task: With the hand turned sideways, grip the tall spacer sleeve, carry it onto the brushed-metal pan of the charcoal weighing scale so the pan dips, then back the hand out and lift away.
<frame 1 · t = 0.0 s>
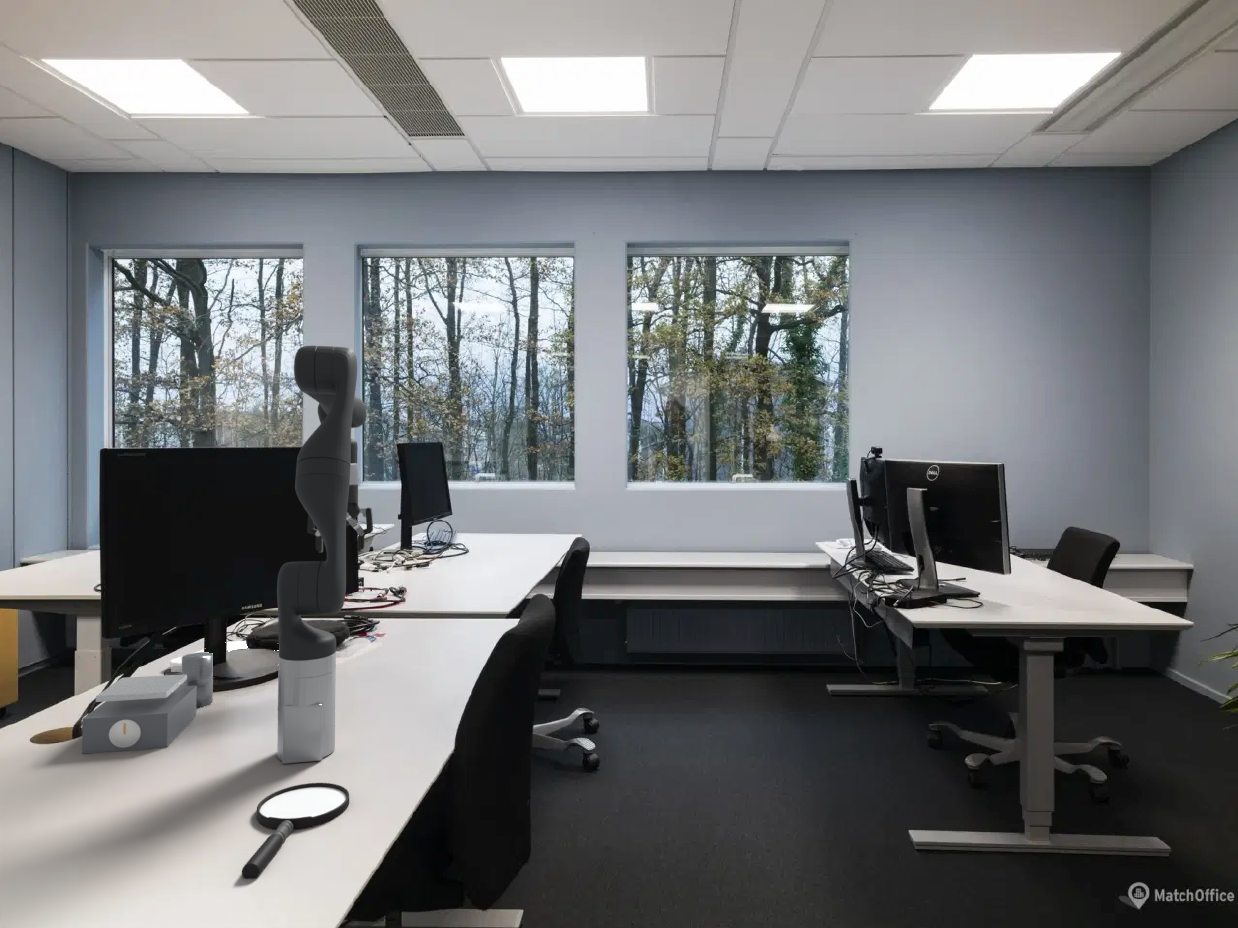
hand: (340, 551, 169), 29 cm above the table, tool pointing down, fingers open, 8 cm apart
scale base: (143, 733, 133), on the table
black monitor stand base: (236, 665, 179), on the table
scale pan: (143, 687, 133), point 9 cm above the table, slide at 0.0 cm
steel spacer: (197, 703, 149), on the table
magnifying glass: (288, 833, 100), on the table
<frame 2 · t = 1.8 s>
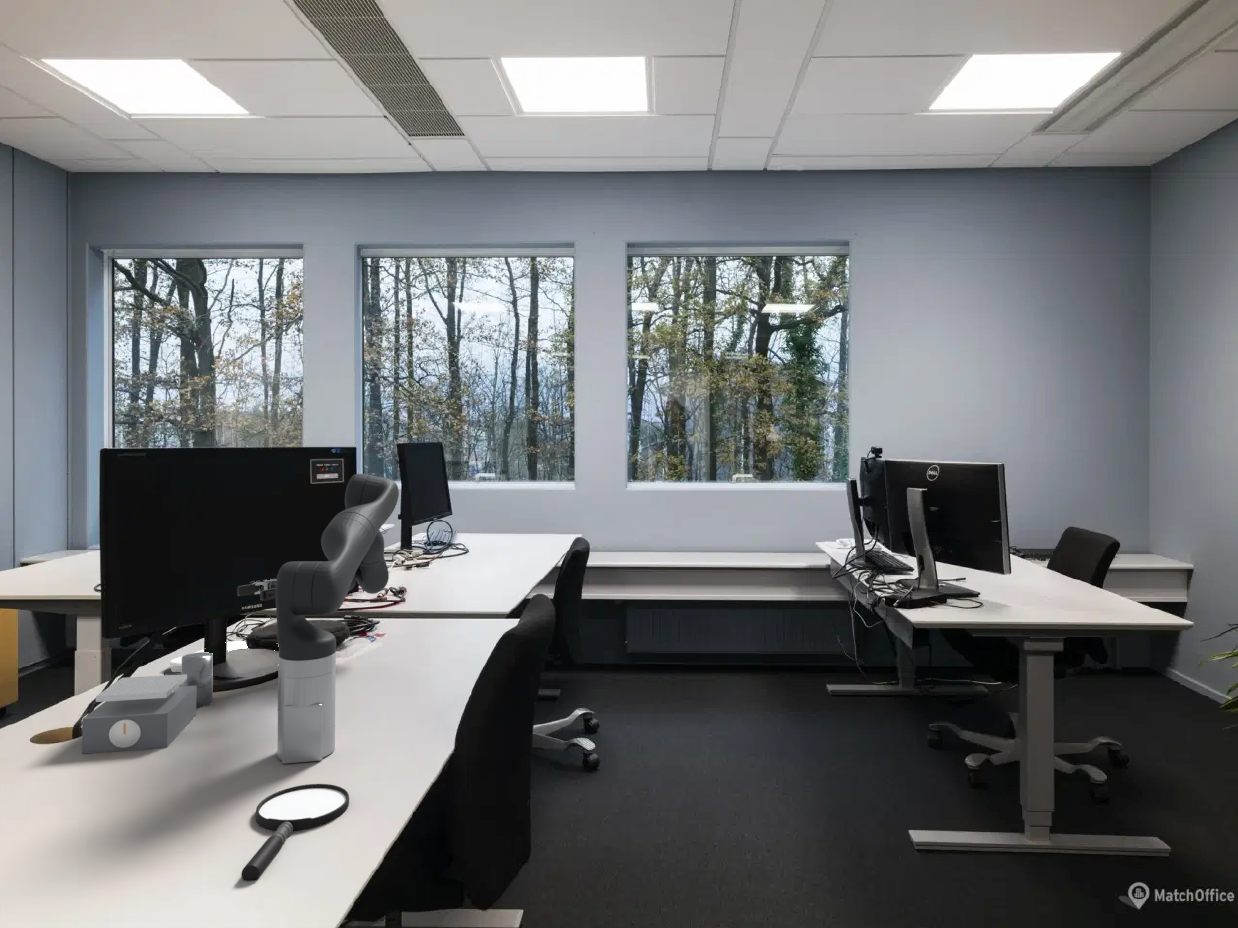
hand: (249, 593, 159), 21 cm above the table, tool horizontal, fingers open, 8 cm apart
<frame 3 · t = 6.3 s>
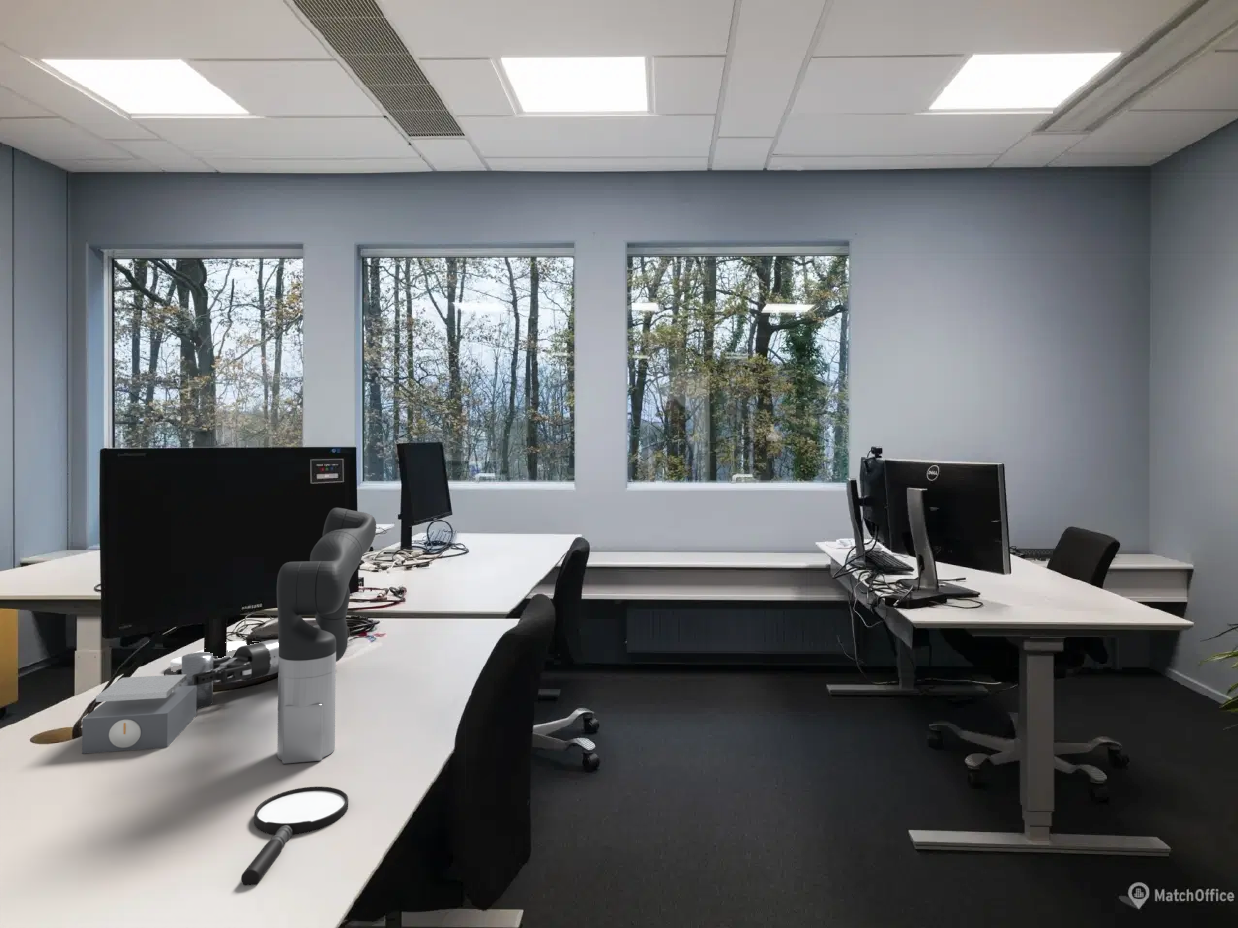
hand: (185, 677, 147), 6 cm above the table, tool horizontal, fingers closed on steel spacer, 5 cm apart
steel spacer: (197, 703, 149), on the table, touching gripper
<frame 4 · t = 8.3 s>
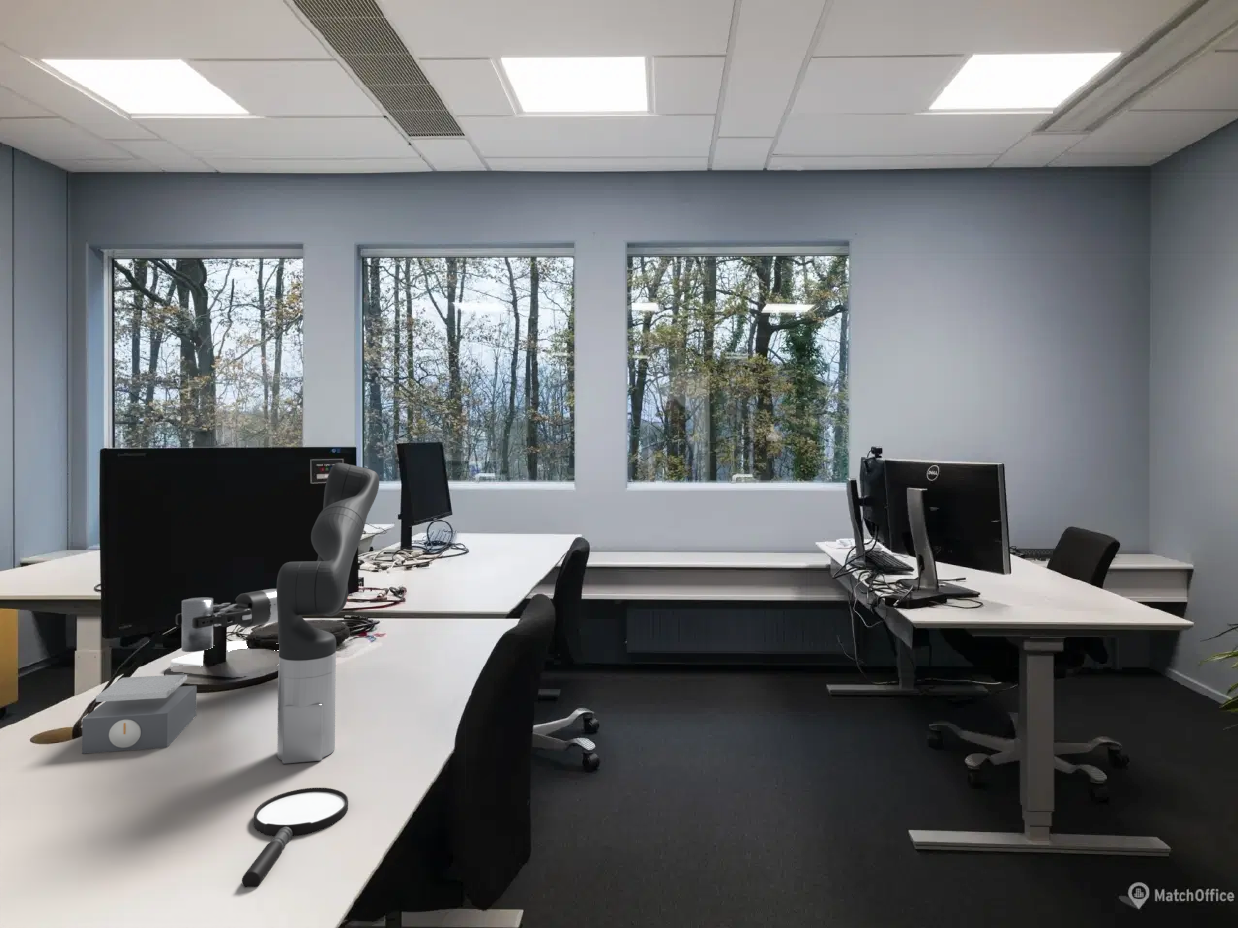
hand: (185, 621, 147), 18 cm above the table, tool horizontal, fingers closed on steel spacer, 5 cm apart
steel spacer: (197, 648, 149), point 12 cm above the table, touching gripper
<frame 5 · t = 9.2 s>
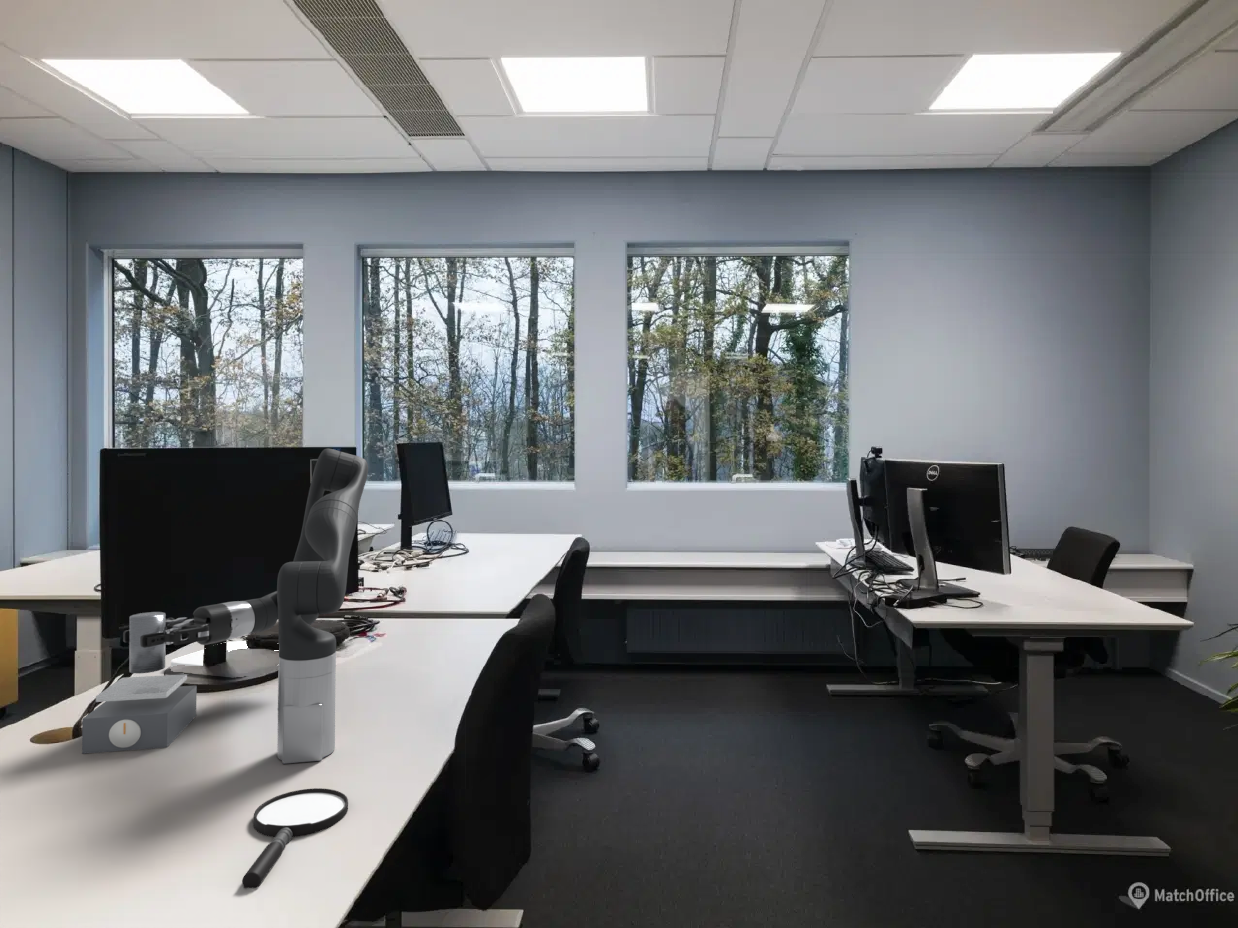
hand: (133, 639, 132), 18 cm above the table, tool horizontal, fingers closed on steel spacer, 5 cm apart
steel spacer: (147, 668, 134), point 12 cm above the table, touching gripper
when the fingers open (16 cm above the table, at t = 10.2 s): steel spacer drops 3 cm, resting on scale pan.
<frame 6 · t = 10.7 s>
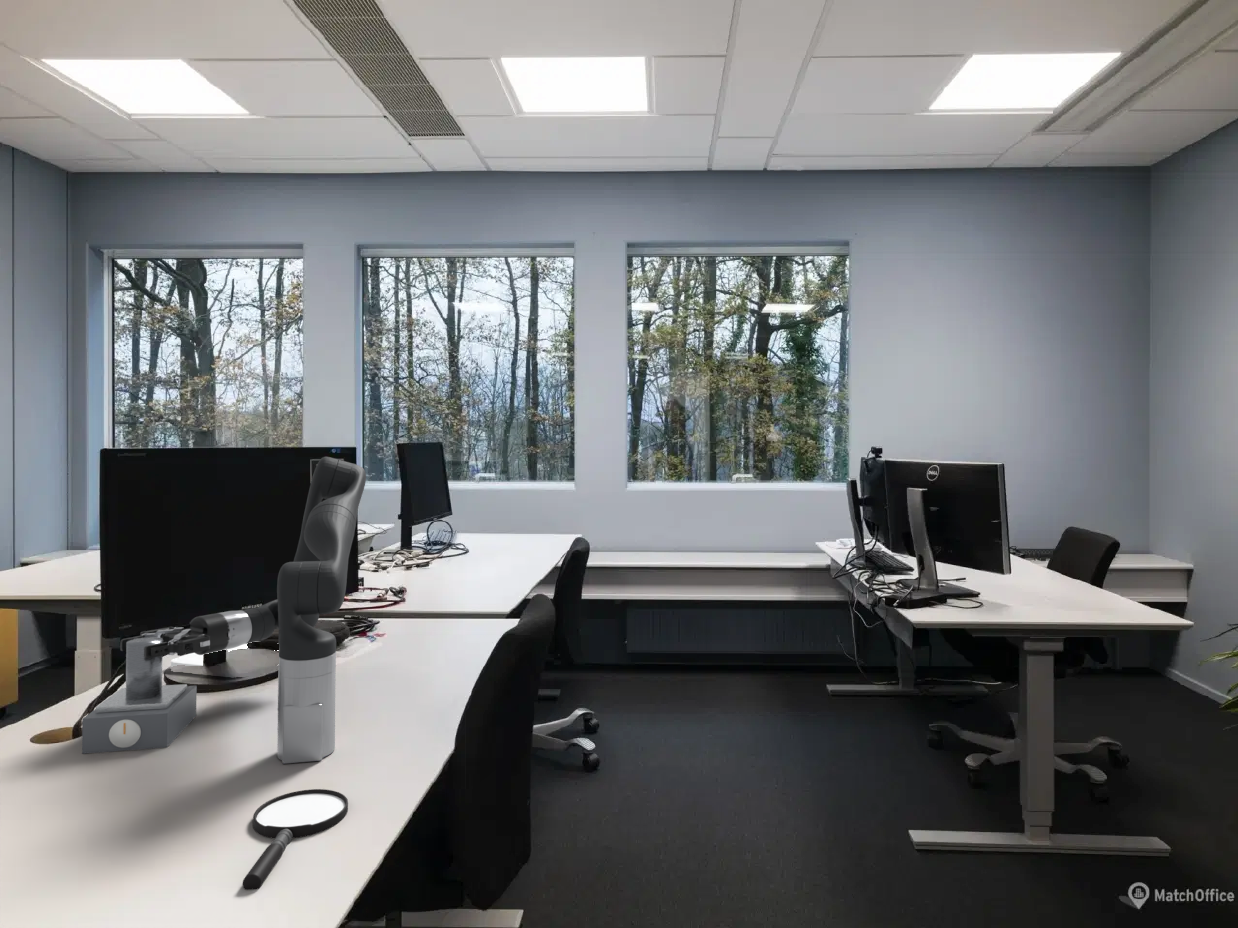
hand: (132, 649, 131), 16 cm above the table, tool horizontal, fingers open, 8 cm apart
scale pan: (143, 697, 133), point 7 cm above the table, slide at 1.9 cm, touching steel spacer
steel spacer: (144, 694, 133), point 7 cm above the table, touching scale pan
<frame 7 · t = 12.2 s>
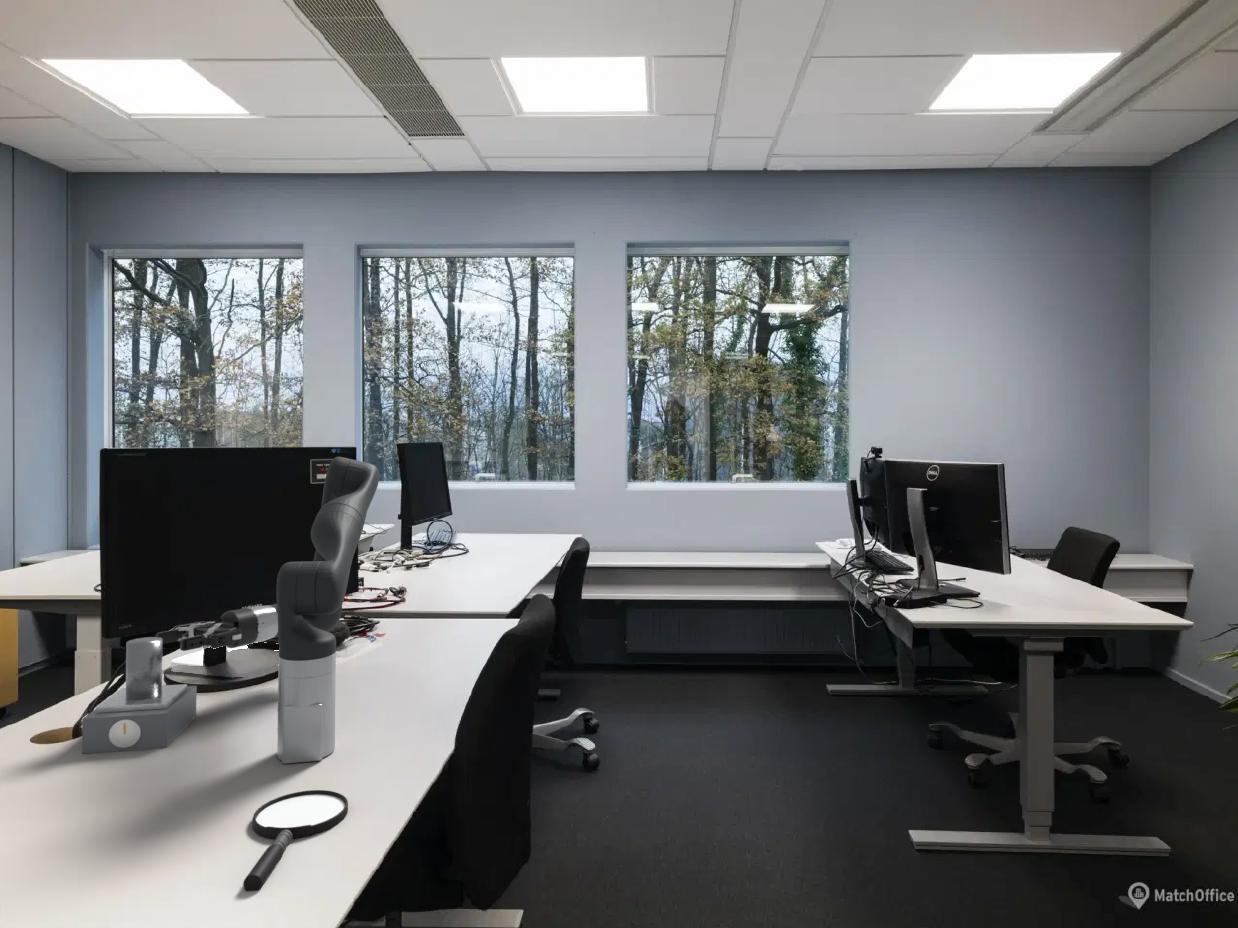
hand: (168, 642, 137), 16 cm above the table, tool horizontal, fingers open, 8 cm apart
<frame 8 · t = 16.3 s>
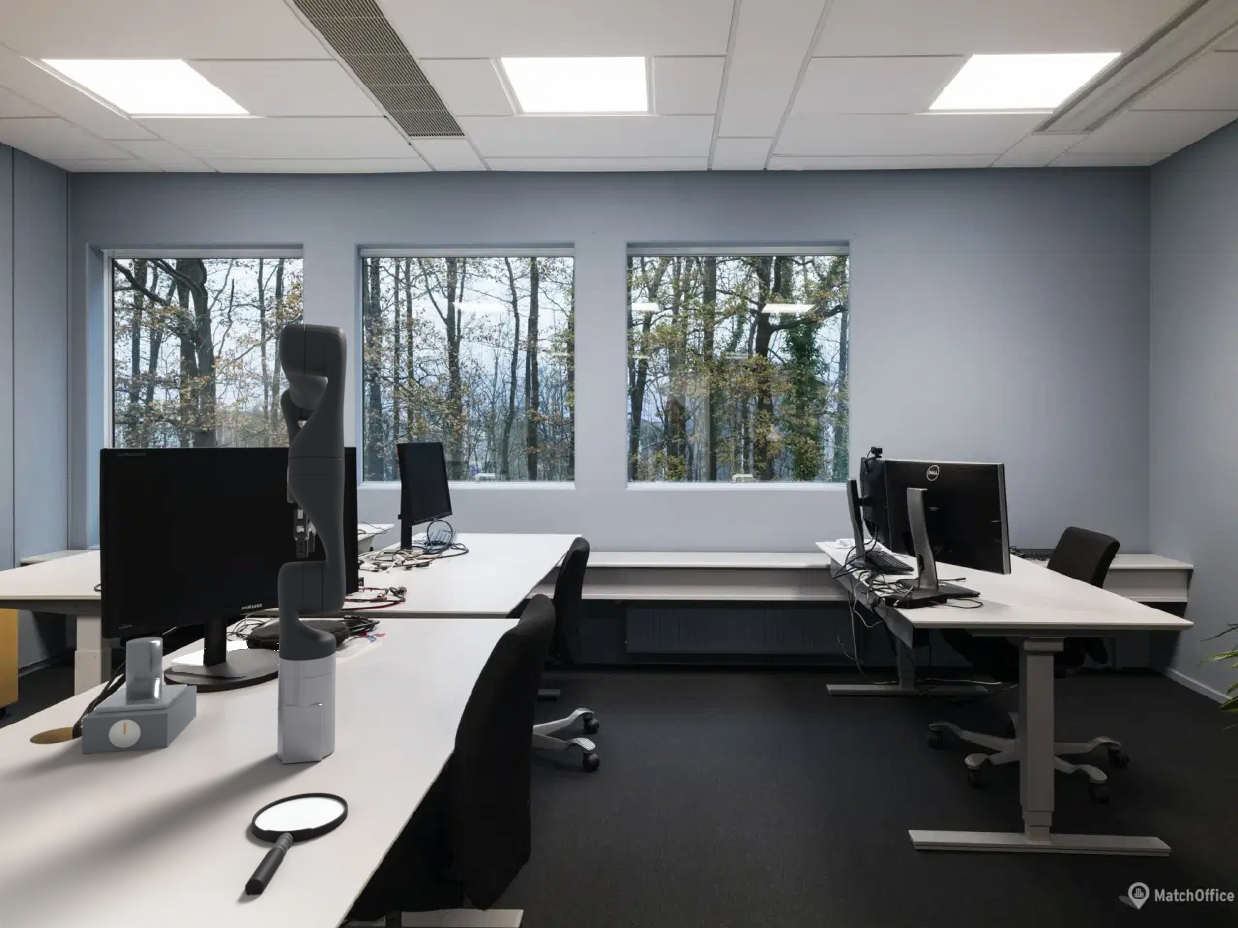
hand: (305, 554, 157), 30 cm above the table, tool pointing down, fingers open, 8 cm apart
at the end: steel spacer inside the target area on the scale base (0.2 cm from its centre), point 7.1 cm above the scale base's base; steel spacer tilted 0°; scale pan slide at 1.9 cm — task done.
